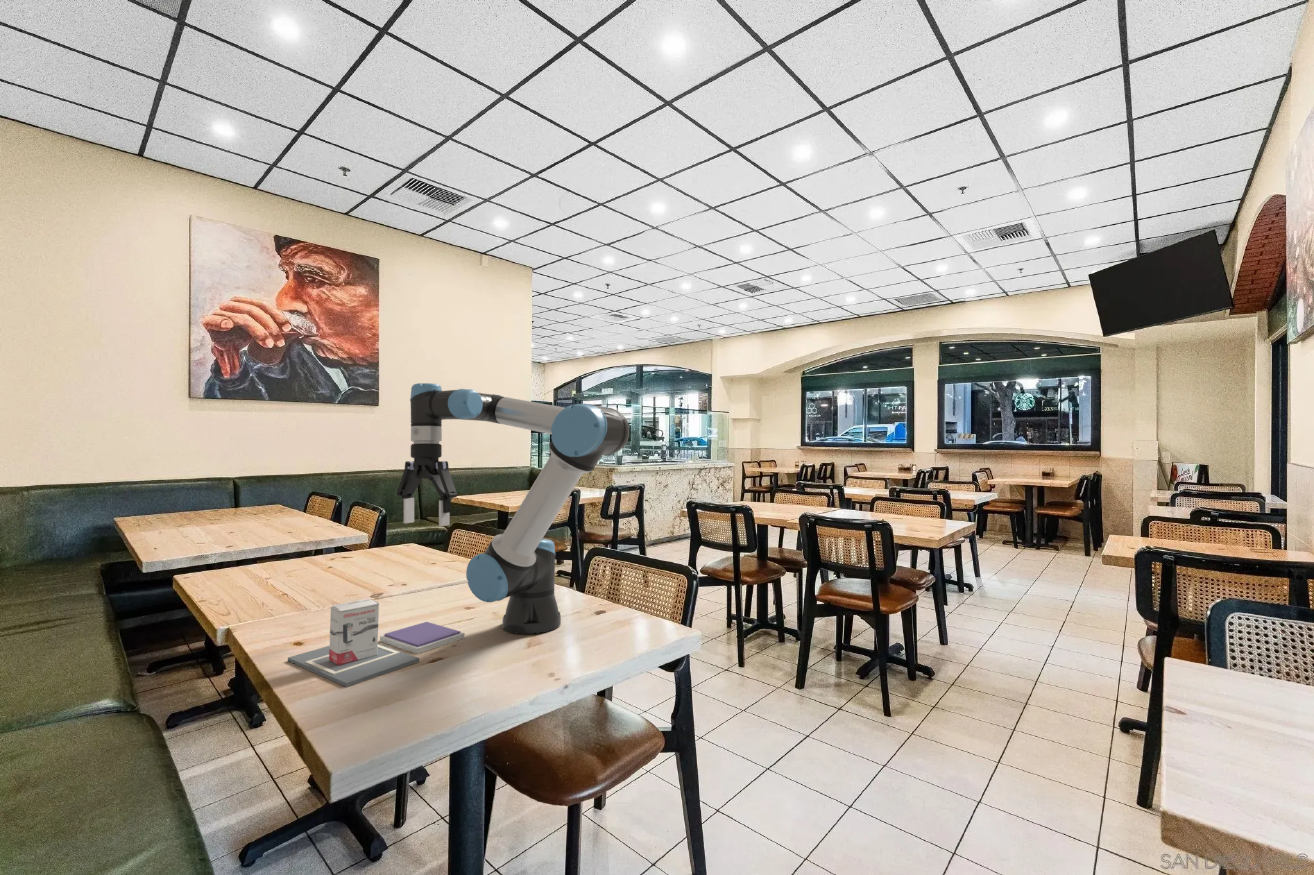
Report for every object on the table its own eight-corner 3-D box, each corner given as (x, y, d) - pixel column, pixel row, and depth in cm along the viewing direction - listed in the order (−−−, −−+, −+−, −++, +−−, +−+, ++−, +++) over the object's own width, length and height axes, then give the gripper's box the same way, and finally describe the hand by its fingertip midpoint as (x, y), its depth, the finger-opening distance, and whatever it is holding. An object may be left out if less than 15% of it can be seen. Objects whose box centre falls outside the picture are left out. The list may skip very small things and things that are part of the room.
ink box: (337, 666, 120) (338, 610, 120) (328, 660, 123) (329, 605, 123) (379, 655, 126) (380, 601, 126) (369, 649, 129) (370, 597, 130)
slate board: (419, 661, 125) (419, 656, 125) (346, 687, 111) (346, 682, 111) (359, 640, 138) (359, 636, 138) (287, 661, 124) (287, 656, 124)
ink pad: (464, 637, 140) (464, 631, 140) (417, 653, 129) (417, 646, 129) (427, 627, 148) (427, 620, 148) (379, 641, 137) (379, 634, 137)
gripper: (382, 443, 151) (382, 523, 150) (447, 442, 139) (447, 528, 138) (407, 443, 157) (407, 520, 157) (471, 442, 145) (471, 525, 145)
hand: (426, 524), depth 148 cm, fingers open, 13 cm apart
